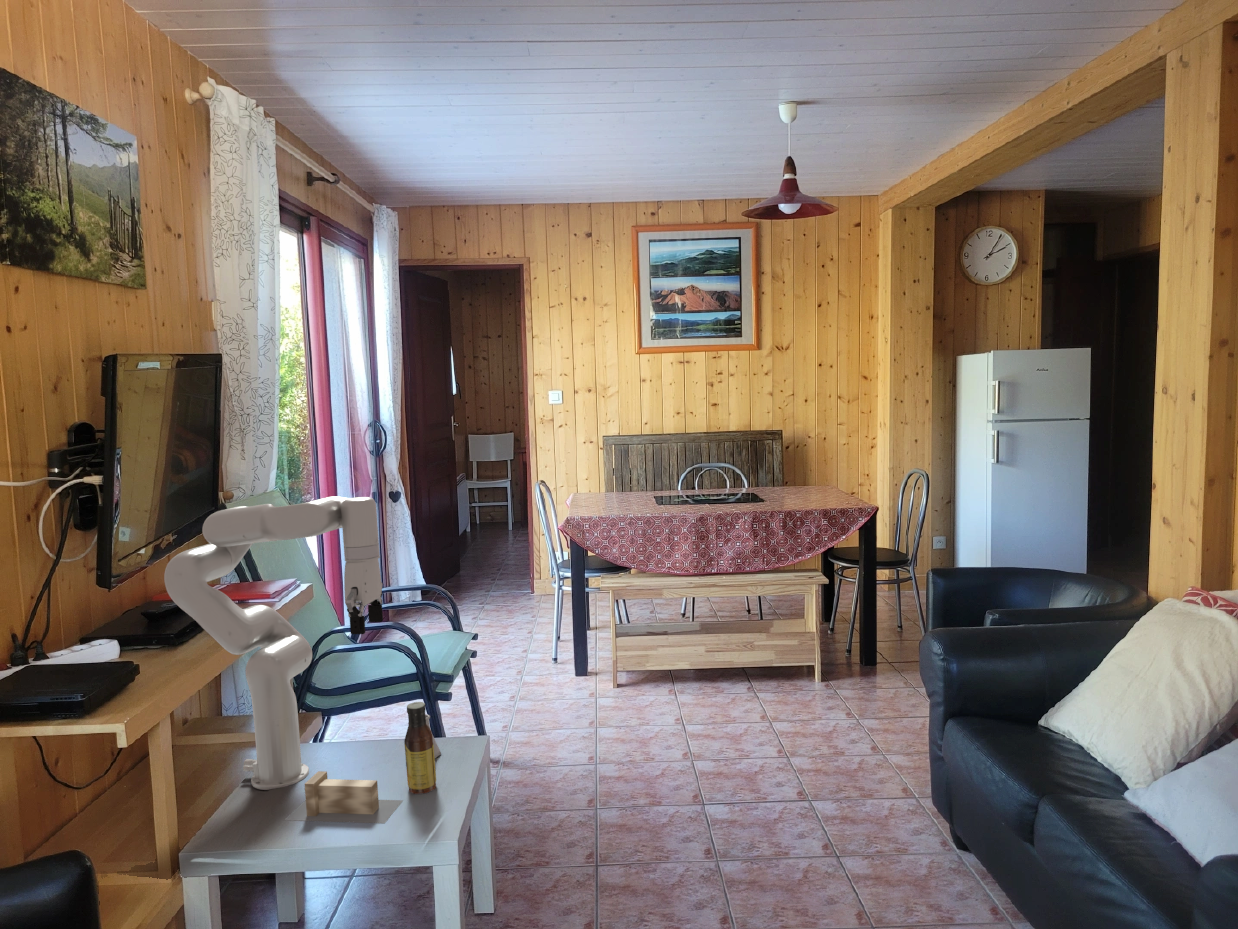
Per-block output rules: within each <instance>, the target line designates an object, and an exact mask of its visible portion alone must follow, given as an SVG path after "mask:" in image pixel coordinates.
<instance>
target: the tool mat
mask: <svg viewBox="0 0 1238 929" xmlns="http://www.w3.org/2000/svg"><path fill="white" fill-rule="evenodd" d="M378 800H379V808H378V809H377V810H376V812H375V813H374V814H343V813H319V814H318V815H317V816H307V811H306V799H304V801H303V802H302V803H300V804H299V805H298V806H297V807H296V808H295V809H294V810H293V811H292V812H291V813H290V814H289V815H288V816H287V817H286V818H285V819H284V821H290V822H291V821H292V822H294V821H298V822H323V823H325V822H328V823H354V824H355V823H356V824H357V823H358V824H363V823H364V824H386V822H387V821H388V820H389V819H390V818H391V816H392V815H393V814H394V812H396V811H397V809H398V807H399V806H400V805H401V804H402V803H403V801H404V800H403V799H402V800H401V799H400V800H399V799H378Z"/></svg>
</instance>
